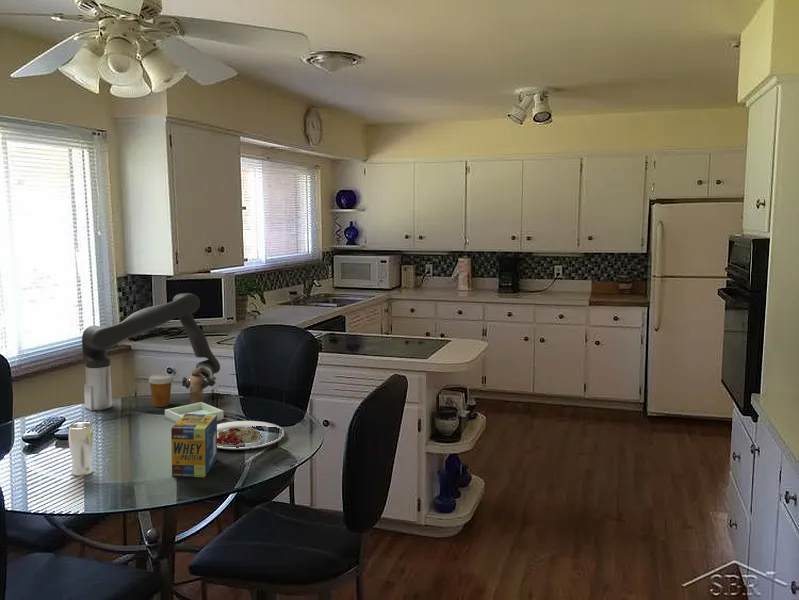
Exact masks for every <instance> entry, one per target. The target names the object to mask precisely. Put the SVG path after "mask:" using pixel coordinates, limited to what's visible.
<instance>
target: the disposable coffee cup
mask: <svg viewBox="0 0 799 600" xmlns="http://www.w3.org/2000/svg"><path fill="white" fill-rule="evenodd" d="M173 380H174V378H173V377H172V375H171V374H168V373H157V374H152V375H150V376H149V378H148V383H149V386H150V394H151V399H152V400H151V401H152V406H153V407H157V408H163V407H168V406H169V405H170V402H171V401H170V398H171V389H172V382H173Z"/></svg>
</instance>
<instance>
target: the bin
mask: <svg viewBox="0 0 799 600" xmlns="http://www.w3.org/2000/svg"><path fill="white" fill-rule="evenodd" d="M185 414H206V415H217V422H218V421H223V420H224V410H223V409H221V408H218V407H215V406H212V405H210V404H207V403H205V402H204V401H203V402H200V403H195V404H190V403H189V404H185V405H180V406H176V407H173V408H172V407H171V408H166V409H164V419H165V420H168V421H170V422H172V423H173V424H176V423H177V422H178V421H179V420H180V419H181V418H182V417H183V416H184V415H185ZM222 419H223V420H222Z"/></svg>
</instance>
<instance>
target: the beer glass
mask: <svg viewBox="0 0 799 600" xmlns="http://www.w3.org/2000/svg"><path fill="white" fill-rule="evenodd" d="M94 438H95V436H94V425H93V423H91V422H88V421H87V422H86V421H81V422H75V423H72V424H70V425H69V426H68V447H69V450H70V451H69V452H70V455H71V460H72V468H71V475H72V476H74V475H76V476H75V477H83V476H88V475H90V474H92V473H93V472H94V469H93V463H92V458H93V457H92V456H93V452H94V451H93V450H94V442H95V441H94V440H95V439H94Z"/></svg>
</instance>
